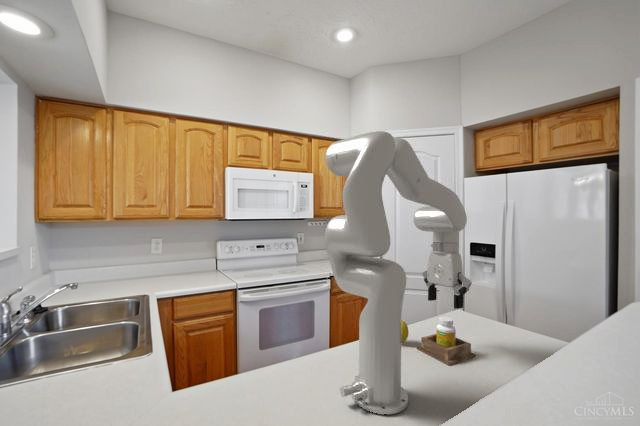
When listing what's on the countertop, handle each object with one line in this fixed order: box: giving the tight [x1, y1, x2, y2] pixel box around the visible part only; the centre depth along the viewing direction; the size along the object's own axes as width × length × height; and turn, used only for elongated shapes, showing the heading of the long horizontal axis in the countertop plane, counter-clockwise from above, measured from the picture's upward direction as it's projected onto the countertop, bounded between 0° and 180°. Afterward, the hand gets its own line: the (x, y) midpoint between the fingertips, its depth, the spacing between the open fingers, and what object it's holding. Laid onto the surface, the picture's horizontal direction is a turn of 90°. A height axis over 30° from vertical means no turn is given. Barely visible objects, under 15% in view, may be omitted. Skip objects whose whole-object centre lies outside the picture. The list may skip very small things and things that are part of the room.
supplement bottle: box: [436, 316, 457, 348], centre depth 91 cm, size 5×5×10 cm
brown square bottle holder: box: [416, 333, 477, 367], centre depth 91 cm, size 12×12×4 cm
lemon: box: [401, 319, 409, 344], centre depth 97 cm, size 6×6×8 cm
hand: (444, 304), depth 91 cm, fingers open, 9 cm apart
